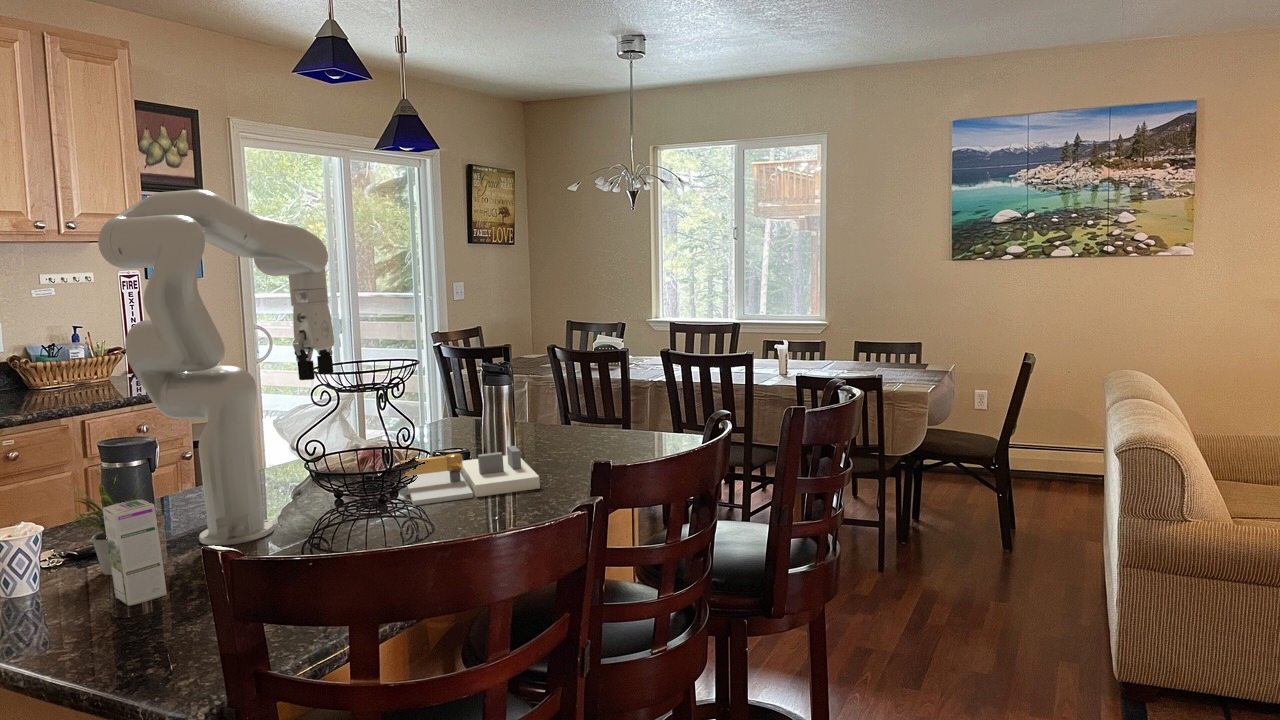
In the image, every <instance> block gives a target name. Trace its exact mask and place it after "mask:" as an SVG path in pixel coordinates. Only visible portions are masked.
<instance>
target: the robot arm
mask: <svg viewBox="0 0 1280 720" xmlns="http://www.w3.org/2000/svg"><path fill="white" fill-rule="evenodd" d="M97 241H98V242H97V243H98V244H97V245H98V249H99V252H100V254H101V256H102V257H103V258H104V259H105V262H107V263H108V264H110V265H111V266H114V267H116V268H120V269H126V270H127V269H133V270H134V269H145V268H147V269H149V268H150V269H151V268H152V271H151V273H150V276H149V278H148V282H147V283H146V286H145V289H144V292H143V305H144V308H145V311H146V313H147V315H148V317H149V319H145V320H142V321H139V322H137V323H135V324H134V325H133V326H131V328H130V329H129V331H128V332H127V333H126V334H127V335H126V337H125V345H124V348H125V355H126V360H127V362H128V365H129V366H130V369H132V372H133V374H135V377H136V378H137V380H138V382H139V383H140V384H141V386H142V388H143V389H144V390H145V393H146V394H147V395H148V397H149V399H150V400H151V402H152V403H153V405H154V406H155V407H156V409H157V410H158V411H159V412H160V414H162V415H163V416H165V417H167V418H170V419H177V420H197V419H198V420H201V419H202V420H207V422H206V424H205V427H204V428H203V430H202V433H201V434H200V437H199V441H198V456H199V461H200V462H199V464H200V469H201V470H200V471H201V479H202V486H203V487H202V488H203V490H202V491H203V499H204V506H205V514H206V524H207V528H206V529H205V530H203V531H201V532H200V533H199V536H198V539H199V543H201V544H202V545H207V546H212V545H219V546H230V545H231V546H233V545H237V544H244V543H248V542H251V541H256V540H258V539H261V538H264V537H266V536H268V535H270V534H272V533H273V531H274V530H275V524H274V522H273V521H271V520H269V519H265V517H264V516H265V515H264V507H263V496H262V489H261V488H262V486H261V478H260V470H259V459H258V450H257V442H256V429H255V425H256V424H255V412H256V404H257V403H256V402H257V385H256V381H255V378H254V377H253V376H252V374H251V373H250V372H249V371H247V370H246V369H244V368H241V367H238V366H235V365H219V364H221V362H223V360H224V358H225V352H226V349H225V344H224V341H223V338H222V336H221V334H220V331H218V328H217V326H216V325H215V323H214V321H213V319H212V317H211V315H210V313H209V311H208V309H207V307H206V305H205V304H204V302H203V300H202V297H201V295H200V293H199V289H198V277H199V271H200V266H201V262H202V259H203V255H204V251H205V247H206V243H207V244H210V245H212V246H214V247H216V248H218V249H220V250H222V251H225V252H226V253H228V254H231V255H233V256H236V257H242V258H249V259H253V261H254V265H255V266H256V268H257V269H258V270H259V272H261V273H263V274H265V275H266V276H267V275H268V276H272V277H278V276H279V277H282V276H288V283H289V294H290V305H291V306H292V307H293V309H292V312H293V313H292V315H293V316H292V317H293V319H292V324H293V337H294V338H293V341H292V346H293V349H294V351H293V352H294V355H295V356H296V357H295V360H296V363H297V369H298V379H299V380H300V381H312V380H315V378H316V377H315V366H314V360H312V357H313V354H314V350H315V351H316V352H317V354H318V355H317V356H316V359H317V369H318V374H319V375H326V374H327V375H329V374H333V373H334V363H333V362H334V360H333V350H332V349H333V346H335V337H334V328H333V322H332V316H331V311H330V308H329V297H328V296H329V294H328V286H327V285H328V283H327V273H326V266H327V265H328V261H329V254H328V250H327V246H326V245H325V243H324V241H322V240H321V239H320V238H319V236H317V235H315V234H314V233H312V232H310V231H308V230H307V229H305V228H303V227H300V226H298V225H295V224H291V223H288V222H285V221H284V222H283V221H280V220H275V219H271V218H268V217H264V216H260V215H259V216H258V215H254V214H252V213H250V212H248V211H246V210H245V209H244V208H241V207H240V206H238V205H236V204H234V203H233V202H231V201H229V200H227V199H226V198H224V197H222V196H221V195H219V194H217V193H214V192H213V191H212V192H211V190H206V189H189V190H188V189H187V190H175V191H174V190H173V191H162V192H157V193H154V194H151V195H149V196H147V197H145V198H143V199H141V200H140V201H138V202H136V203H135V204H133V205H131V206H129V207H128V208H127V209H125V210H123V211H121V212H120V213H118V214H117V215H115V216H113V217H111V218H110V219H108V220H107V221H106V222H105V223H104V225H102V227H101V229H100V231H99V234H98V239H97ZM313 370H314V372H313Z"/></svg>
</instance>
